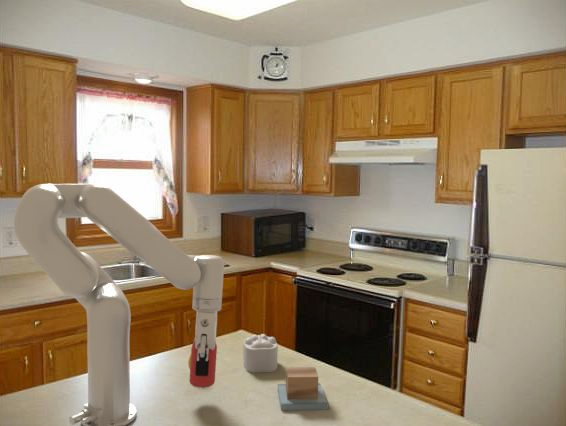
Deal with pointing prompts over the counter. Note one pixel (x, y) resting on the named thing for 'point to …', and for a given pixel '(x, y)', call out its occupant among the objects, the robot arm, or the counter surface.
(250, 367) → the lumpy-topped squat cylinder
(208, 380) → the beer can
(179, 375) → the counter surface
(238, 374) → the counter surface
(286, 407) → the plate
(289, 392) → the wooden block
